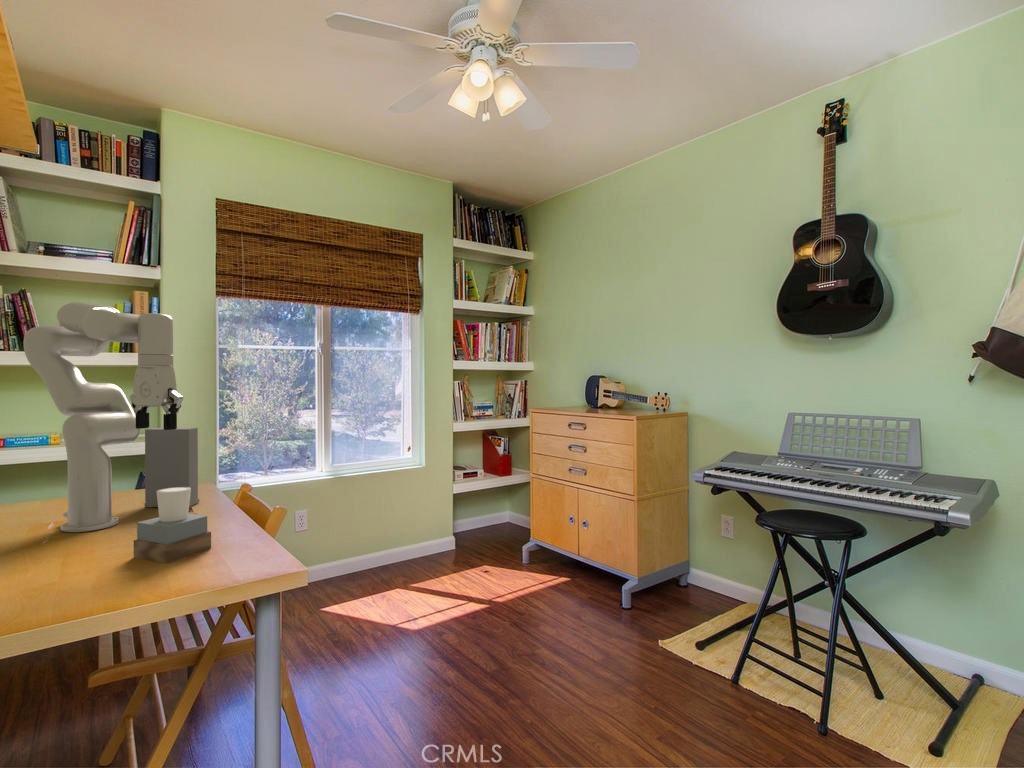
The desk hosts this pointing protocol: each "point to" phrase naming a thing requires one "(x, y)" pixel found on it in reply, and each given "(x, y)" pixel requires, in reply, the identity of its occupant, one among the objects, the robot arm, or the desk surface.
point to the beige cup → (173, 503)
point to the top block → (171, 529)
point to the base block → (172, 548)
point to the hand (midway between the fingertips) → (156, 428)
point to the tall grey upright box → (170, 462)
